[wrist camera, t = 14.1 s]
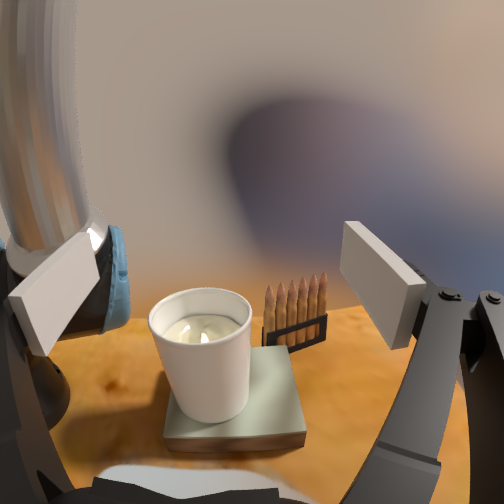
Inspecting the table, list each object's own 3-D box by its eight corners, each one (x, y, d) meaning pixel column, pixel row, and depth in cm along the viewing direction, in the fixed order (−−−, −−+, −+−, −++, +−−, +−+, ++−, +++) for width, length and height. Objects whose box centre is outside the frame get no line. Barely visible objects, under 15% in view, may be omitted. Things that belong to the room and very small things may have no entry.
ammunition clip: (266, 361, 43) (266, 290, 39) (260, 354, 45) (259, 284, 40) (325, 339, 47) (333, 272, 43) (319, 334, 49) (325, 268, 44)
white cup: (256, 369, 37) (253, 286, 32) (253, 431, 28) (249, 346, 23) (180, 367, 37) (164, 286, 33) (162, 425, 28) (132, 340, 24)
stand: (169, 451, 28) (162, 435, 27) (182, 367, 42) (178, 349, 41) (303, 446, 29) (306, 430, 28) (285, 362, 43) (286, 344, 42)
